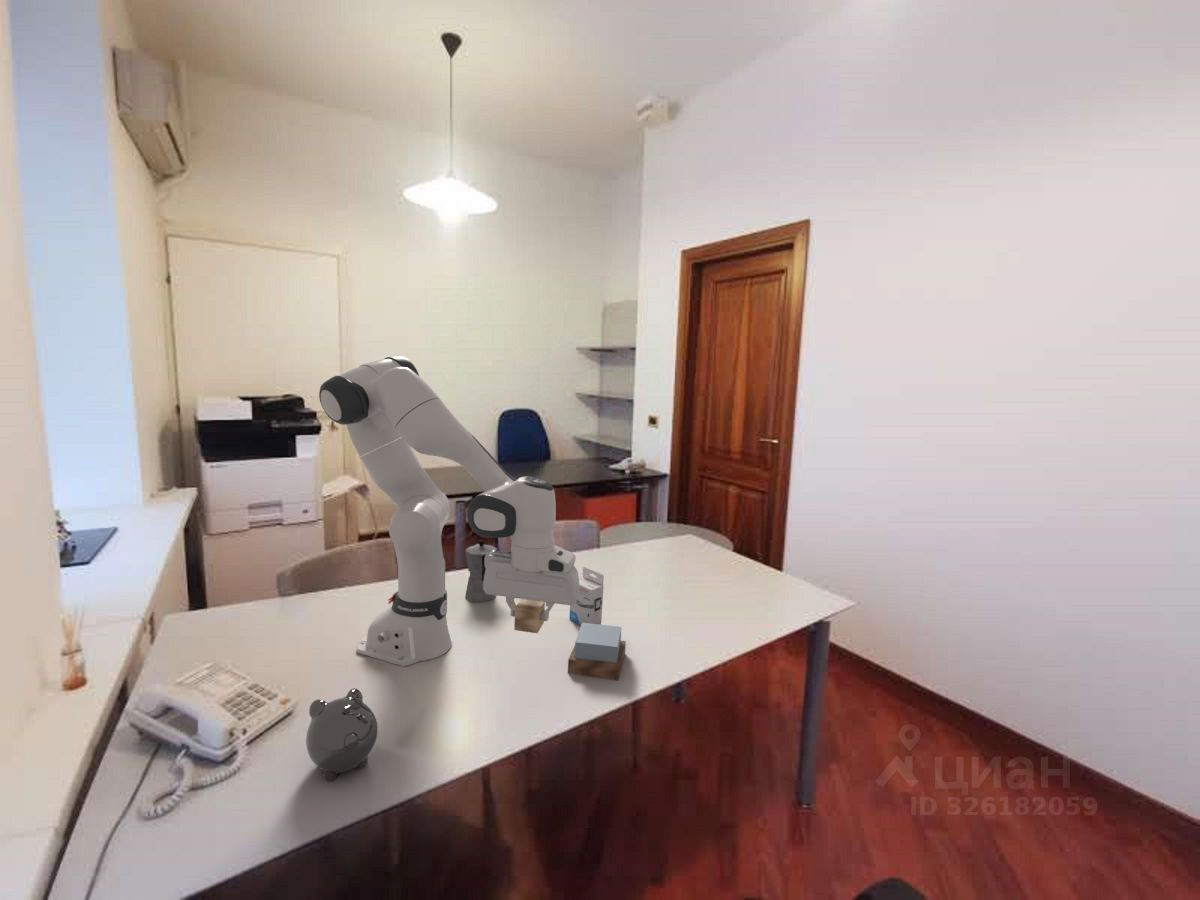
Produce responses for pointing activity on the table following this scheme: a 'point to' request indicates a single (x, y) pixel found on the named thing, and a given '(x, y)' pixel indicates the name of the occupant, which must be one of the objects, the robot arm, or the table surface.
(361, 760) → the piggy bank
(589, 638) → the tower top
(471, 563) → the coffeepot
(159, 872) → the table surface
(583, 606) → the ink box
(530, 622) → the oak block
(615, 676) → the tower base
